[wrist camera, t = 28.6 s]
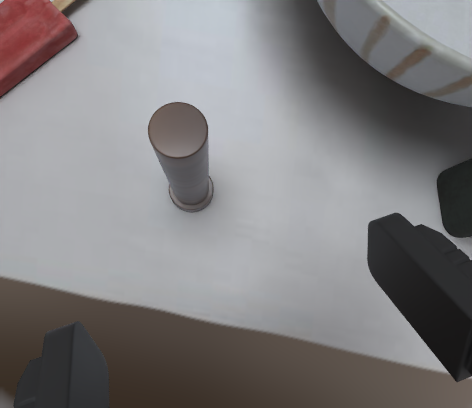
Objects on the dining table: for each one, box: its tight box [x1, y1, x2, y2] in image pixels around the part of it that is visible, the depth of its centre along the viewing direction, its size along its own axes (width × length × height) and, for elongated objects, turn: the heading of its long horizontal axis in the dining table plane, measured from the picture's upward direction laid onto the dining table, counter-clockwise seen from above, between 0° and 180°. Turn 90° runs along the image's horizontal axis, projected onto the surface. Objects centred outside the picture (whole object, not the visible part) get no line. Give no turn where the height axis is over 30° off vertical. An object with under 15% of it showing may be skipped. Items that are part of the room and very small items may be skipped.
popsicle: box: [0, 0, 77, 96], centre depth 28 cm, size 4×2×15 cm
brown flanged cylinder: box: [148, 102, 213, 212], centre depth 22 cm, size 3×3×12 cm
